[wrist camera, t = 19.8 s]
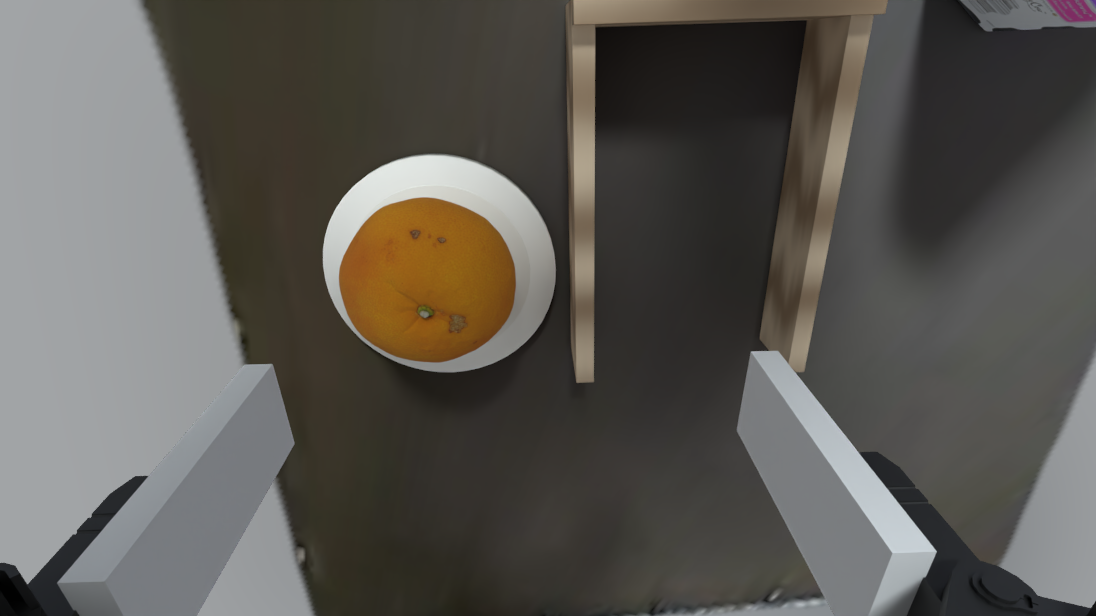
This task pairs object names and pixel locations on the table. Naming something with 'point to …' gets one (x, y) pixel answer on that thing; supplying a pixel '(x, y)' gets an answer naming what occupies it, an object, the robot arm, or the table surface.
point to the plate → (486, 198)
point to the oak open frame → (811, 165)
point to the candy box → (1031, 14)
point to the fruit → (427, 280)
